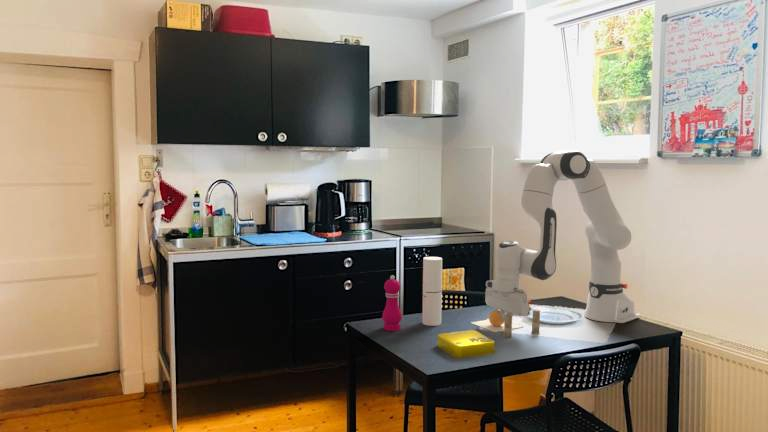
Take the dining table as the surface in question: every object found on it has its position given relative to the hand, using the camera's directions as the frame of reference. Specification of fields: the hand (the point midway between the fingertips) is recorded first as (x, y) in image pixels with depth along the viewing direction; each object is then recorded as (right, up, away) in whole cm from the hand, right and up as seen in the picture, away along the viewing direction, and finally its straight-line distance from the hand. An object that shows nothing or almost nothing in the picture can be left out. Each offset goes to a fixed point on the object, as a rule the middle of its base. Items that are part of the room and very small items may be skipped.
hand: (505, 322), depth 247 cm
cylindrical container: (-27, -2, +7) cm, 28 cm away
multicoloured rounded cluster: (+10, 0, +25) cm, 27 cm away
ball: (-3, +1, +3) cm, 4 cm away
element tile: (-18, -6, -23) cm, 30 cm away
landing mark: (-2, -2, +5) cm, 6 cm away
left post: (-1, -4, -10) cm, 11 cm away
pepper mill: (-42, -3, 0) cm, 42 cm away
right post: (+10, -3, -4) cm, 11 cm away
